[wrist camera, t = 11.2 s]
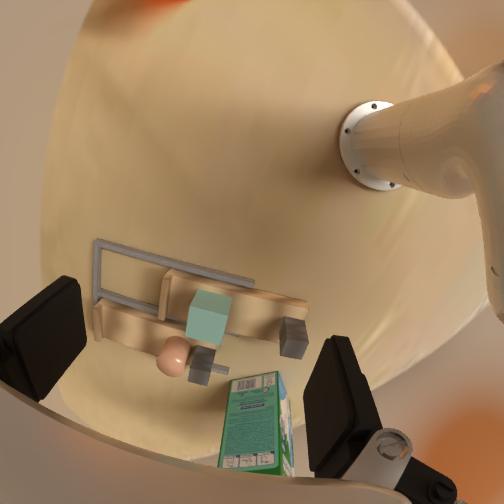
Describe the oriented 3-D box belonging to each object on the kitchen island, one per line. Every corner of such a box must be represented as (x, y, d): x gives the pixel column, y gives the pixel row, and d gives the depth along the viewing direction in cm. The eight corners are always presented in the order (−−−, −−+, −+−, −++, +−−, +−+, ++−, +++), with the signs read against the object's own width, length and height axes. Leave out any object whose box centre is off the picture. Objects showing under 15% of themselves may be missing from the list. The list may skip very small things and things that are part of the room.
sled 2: (306, 301, 43) (313, 331, 36) (292, 337, 45) (296, 369, 38) (170, 267, 42) (152, 291, 35) (165, 305, 45) (148, 333, 37)
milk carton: (290, 401, 51) (296, 515, 27) (246, 409, 52) (236, 519, 28) (278, 370, 48) (281, 497, 24) (230, 379, 49) (211, 501, 26)
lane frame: (254, 280, 43) (254, 283, 41) (228, 370, 49) (227, 375, 47) (98, 238, 42) (94, 240, 40) (97, 330, 48) (95, 333, 47)
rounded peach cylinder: (193, 340, 44) (186, 360, 39) (189, 360, 45) (183, 380, 40) (166, 332, 43) (157, 351, 39) (164, 352, 45) (155, 371, 40)
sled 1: (220, 331, 46) (212, 363, 38) (213, 362, 48) (205, 394, 40) (103, 296, 45) (80, 320, 37) (104, 328, 47) (84, 353, 40)
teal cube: (232, 297, 41) (228, 315, 36) (225, 325, 42) (220, 345, 38) (198, 288, 41) (189, 305, 36) (192, 317, 42) (184, 336, 37)
